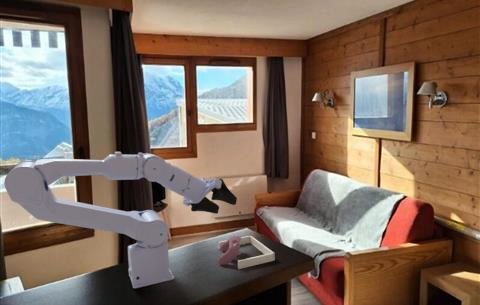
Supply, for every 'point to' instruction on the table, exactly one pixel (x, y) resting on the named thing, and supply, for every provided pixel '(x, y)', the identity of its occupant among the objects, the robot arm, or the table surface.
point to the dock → (253, 260)
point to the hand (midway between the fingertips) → (226, 205)
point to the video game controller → (230, 250)
